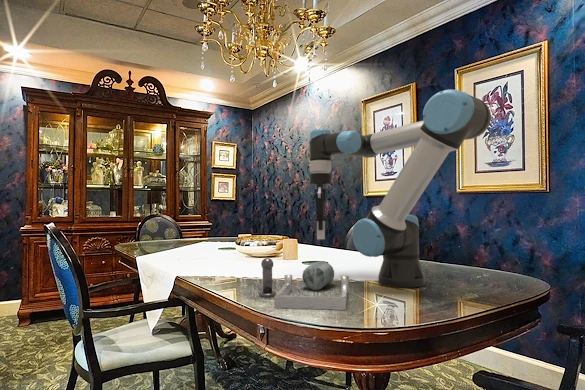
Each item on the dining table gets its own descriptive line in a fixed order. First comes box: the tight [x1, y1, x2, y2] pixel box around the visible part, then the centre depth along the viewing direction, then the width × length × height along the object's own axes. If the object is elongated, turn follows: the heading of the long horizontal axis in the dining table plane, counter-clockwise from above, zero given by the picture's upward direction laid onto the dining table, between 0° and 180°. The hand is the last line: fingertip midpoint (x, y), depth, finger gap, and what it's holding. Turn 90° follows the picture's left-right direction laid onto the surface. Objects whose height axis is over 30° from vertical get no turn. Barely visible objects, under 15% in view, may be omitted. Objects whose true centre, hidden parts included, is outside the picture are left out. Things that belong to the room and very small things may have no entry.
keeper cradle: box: [273, 274, 350, 311], centre depth 112 cm, size 20×20×5 cm
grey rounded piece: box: [301, 260, 335, 291], centre depth 128 cm, size 14×10×10 cm
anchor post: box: [258, 257, 277, 298], centre depth 117 cm, size 5×5×11 cm
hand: (320, 239), depth 141 cm, fingers closed
